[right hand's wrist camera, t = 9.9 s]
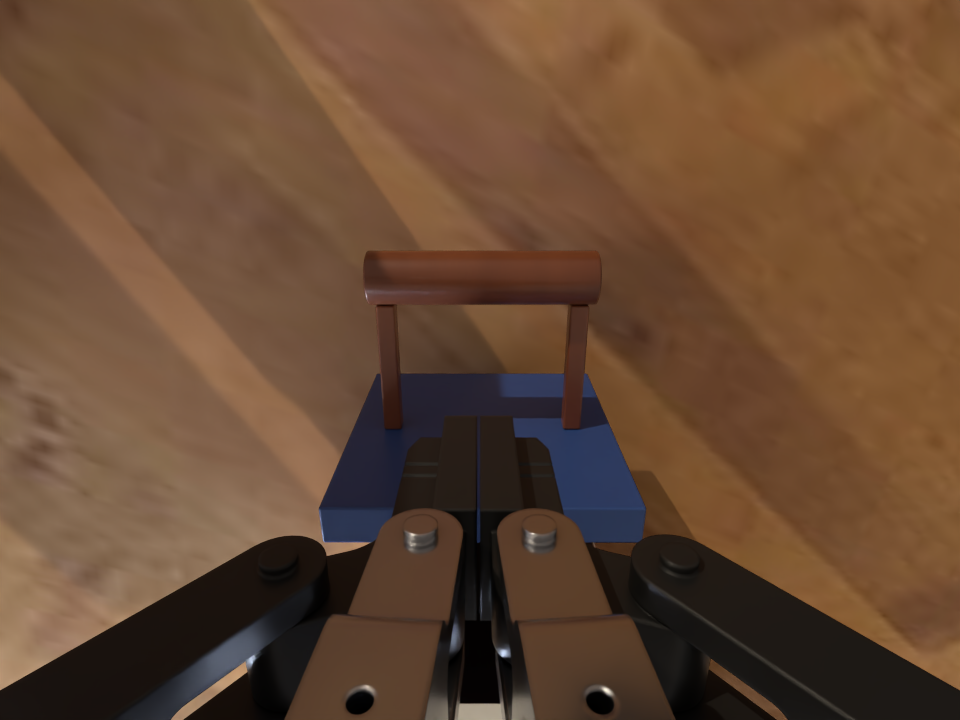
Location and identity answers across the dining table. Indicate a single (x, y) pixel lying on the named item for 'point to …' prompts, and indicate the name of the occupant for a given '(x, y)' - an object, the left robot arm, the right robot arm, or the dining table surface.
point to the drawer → (483, 409)
